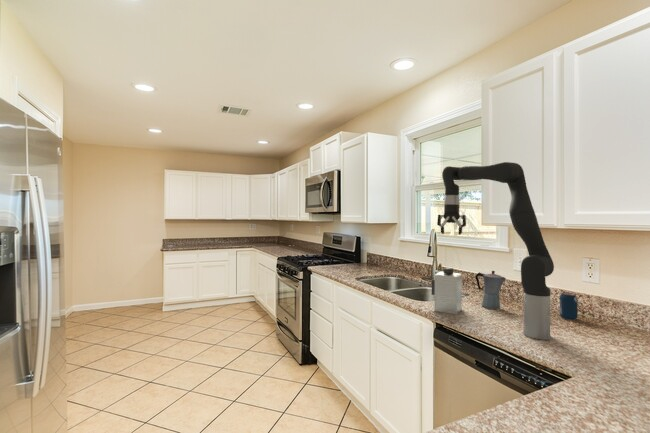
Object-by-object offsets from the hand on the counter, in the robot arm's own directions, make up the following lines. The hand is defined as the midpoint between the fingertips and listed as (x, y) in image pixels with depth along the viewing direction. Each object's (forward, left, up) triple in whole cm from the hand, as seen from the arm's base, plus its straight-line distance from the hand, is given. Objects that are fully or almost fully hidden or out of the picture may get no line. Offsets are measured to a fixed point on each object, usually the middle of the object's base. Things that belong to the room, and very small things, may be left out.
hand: (451, 234), depth 171 cm
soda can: (-51, -16, -40) cm, 67 cm away
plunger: (0, +5, -38) cm, 39 cm away
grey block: (+2, +5, -40) cm, 40 cm away
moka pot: (-17, -15, -40) cm, 46 cm away
